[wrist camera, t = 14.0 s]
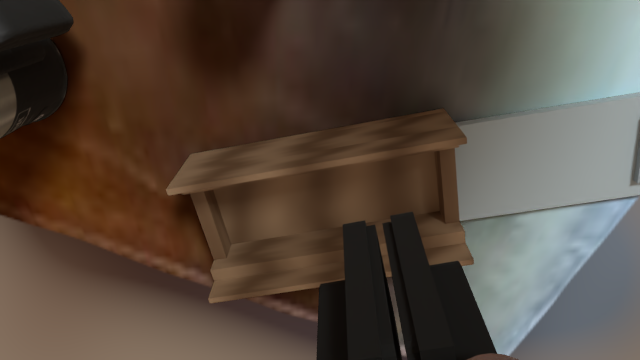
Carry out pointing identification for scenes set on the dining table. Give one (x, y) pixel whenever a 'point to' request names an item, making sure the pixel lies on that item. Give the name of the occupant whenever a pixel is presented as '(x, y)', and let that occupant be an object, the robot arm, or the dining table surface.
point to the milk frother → (30, 61)
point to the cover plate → (549, 157)
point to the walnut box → (323, 200)
